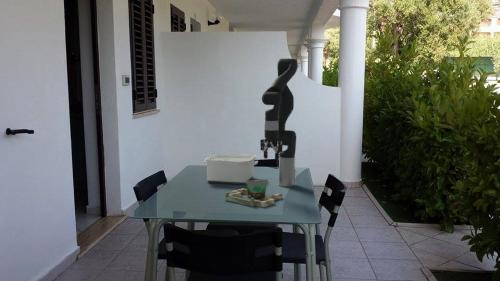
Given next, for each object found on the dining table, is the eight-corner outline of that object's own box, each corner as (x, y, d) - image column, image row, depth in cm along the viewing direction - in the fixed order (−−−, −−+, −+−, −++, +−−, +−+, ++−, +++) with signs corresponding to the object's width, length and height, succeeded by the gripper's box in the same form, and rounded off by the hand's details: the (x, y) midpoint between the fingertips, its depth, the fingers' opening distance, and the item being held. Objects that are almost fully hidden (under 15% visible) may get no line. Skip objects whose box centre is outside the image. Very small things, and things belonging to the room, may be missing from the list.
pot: (197, 183, 280) (197, 159, 278) (212, 174, 307) (212, 153, 306) (251, 186, 272) (252, 162, 270) (262, 177, 299) (262, 155, 298)
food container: (248, 200, 239) (248, 181, 238) (245, 197, 245) (245, 179, 244) (270, 198, 242) (270, 180, 241) (267, 196, 248) (267, 178, 247)
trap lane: (249, 191, 259) (249, 184, 259) (289, 199, 241) (289, 192, 241) (218, 198, 241) (218, 191, 241) (259, 208, 223) (259, 200, 222)
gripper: (286, 129, 245) (285, 159, 247) (265, 127, 255) (265, 157, 257) (277, 130, 240) (277, 161, 242) (257, 128, 249) (256, 158, 251)
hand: (271, 159), depth 249 cm, fingers open, 7 cm apart
